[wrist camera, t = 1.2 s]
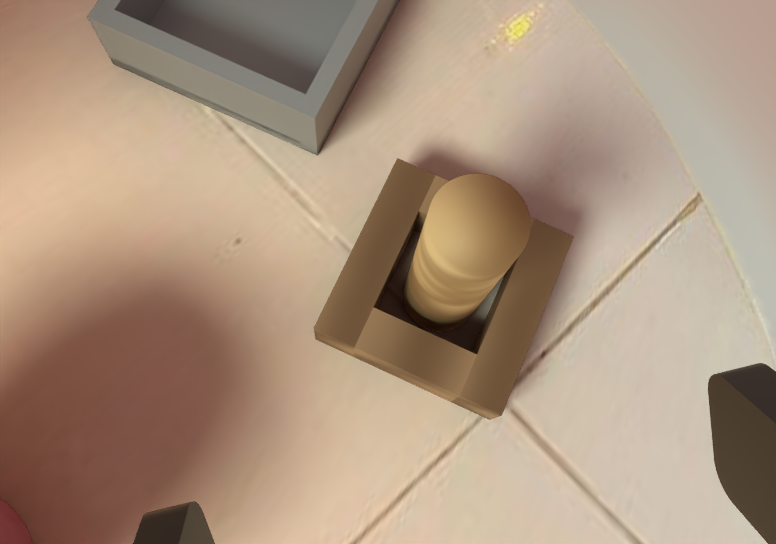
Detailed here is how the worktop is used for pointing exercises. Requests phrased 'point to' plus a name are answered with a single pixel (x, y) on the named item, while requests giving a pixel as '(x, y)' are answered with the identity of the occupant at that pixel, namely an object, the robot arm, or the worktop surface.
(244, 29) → the tray
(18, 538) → the plant pot
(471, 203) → the dowel
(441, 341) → the socket block
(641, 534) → the worktop surface
